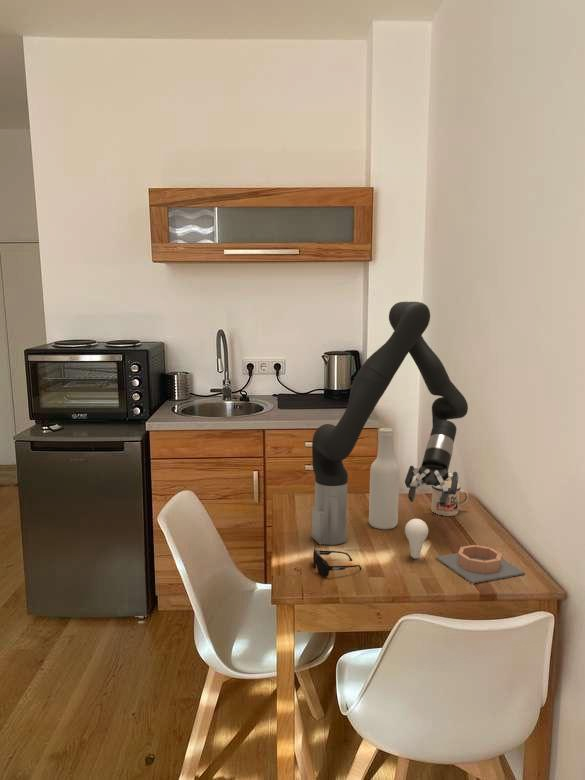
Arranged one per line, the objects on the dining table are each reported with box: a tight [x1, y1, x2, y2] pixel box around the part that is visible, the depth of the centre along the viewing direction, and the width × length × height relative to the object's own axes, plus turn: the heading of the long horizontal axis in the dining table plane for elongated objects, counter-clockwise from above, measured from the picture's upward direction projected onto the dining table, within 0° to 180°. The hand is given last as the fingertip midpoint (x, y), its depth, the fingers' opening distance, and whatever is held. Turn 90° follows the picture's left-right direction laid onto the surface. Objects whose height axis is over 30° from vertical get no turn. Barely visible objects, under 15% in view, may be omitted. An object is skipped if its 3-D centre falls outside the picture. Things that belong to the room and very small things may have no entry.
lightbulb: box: [404, 518, 429, 560], centre depth 170 cm, size 6×6×11 cm
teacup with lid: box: [430, 477, 469, 517], centre depth 207 cm, size 12×9×12 cm
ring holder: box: [435, 544, 526, 584], centre depth 166 cm, size 16×16×4 cm
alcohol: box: [368, 427, 400, 530], centre depth 193 cm, size 9×9×30 cm
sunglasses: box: [312, 548, 362, 578], centre depth 165 cm, size 10×12×5 cm
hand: (426, 503), depth 177 cm, fingers open, 8 cm apart
